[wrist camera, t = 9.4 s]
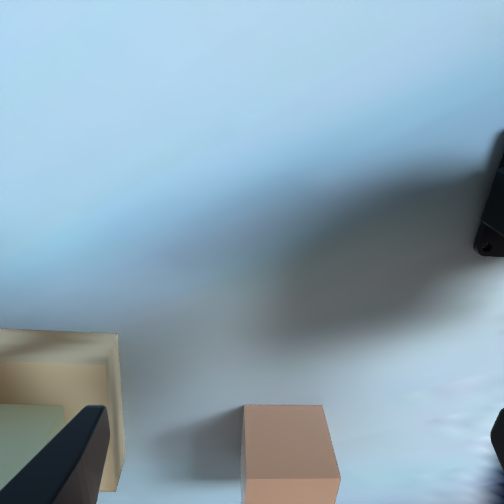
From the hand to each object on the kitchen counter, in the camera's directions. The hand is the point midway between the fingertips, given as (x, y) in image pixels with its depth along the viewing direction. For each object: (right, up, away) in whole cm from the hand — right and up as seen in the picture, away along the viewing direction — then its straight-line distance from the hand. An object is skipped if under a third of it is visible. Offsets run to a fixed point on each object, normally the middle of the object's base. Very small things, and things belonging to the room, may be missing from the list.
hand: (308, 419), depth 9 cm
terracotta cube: (+1, -8, +18) cm, 19 cm away
